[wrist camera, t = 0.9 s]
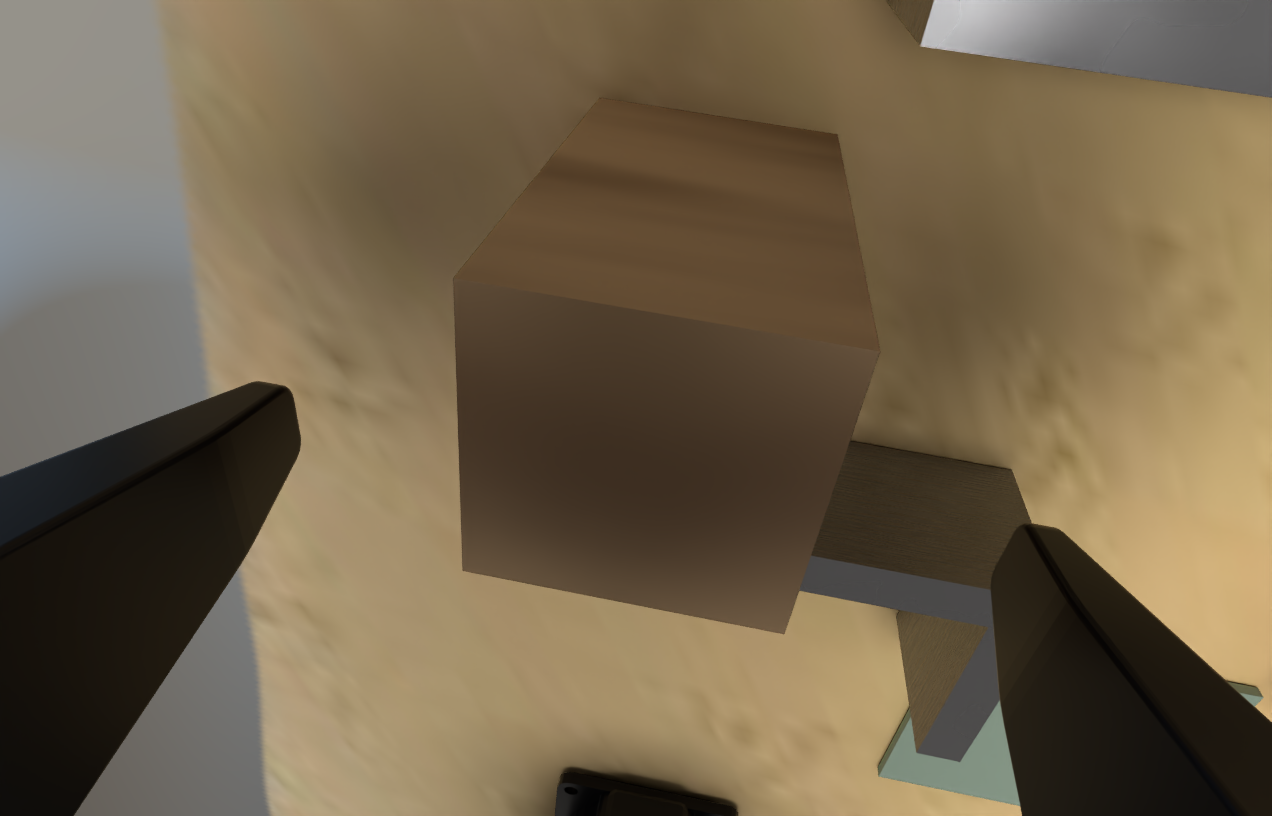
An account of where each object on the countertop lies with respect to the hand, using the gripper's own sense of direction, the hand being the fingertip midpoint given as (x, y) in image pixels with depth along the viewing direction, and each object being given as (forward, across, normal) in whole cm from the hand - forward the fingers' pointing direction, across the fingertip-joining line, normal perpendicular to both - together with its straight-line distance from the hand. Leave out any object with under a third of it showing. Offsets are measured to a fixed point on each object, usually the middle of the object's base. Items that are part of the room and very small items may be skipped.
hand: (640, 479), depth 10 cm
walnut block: (+8, 0, 0) cm, 8 cm away
